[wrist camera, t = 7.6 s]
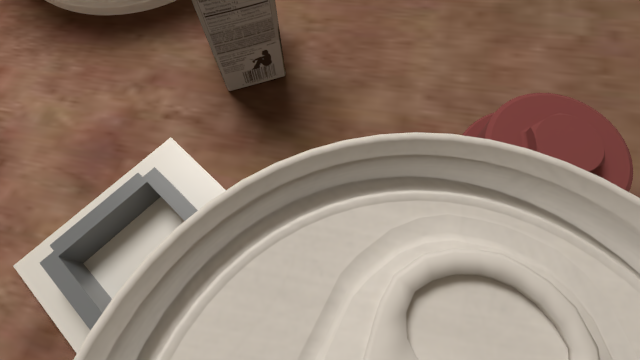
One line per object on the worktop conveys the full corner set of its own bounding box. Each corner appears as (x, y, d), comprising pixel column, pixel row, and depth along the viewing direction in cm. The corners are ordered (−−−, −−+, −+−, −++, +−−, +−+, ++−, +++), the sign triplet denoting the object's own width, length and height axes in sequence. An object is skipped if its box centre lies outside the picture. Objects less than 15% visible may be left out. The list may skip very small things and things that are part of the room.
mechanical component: (559, 195, 32) (514, 293, 29) (455, 140, 34) (403, 226, 31) (686, 120, 21) (635, 269, 18) (518, 45, 23) (447, 166, 20)
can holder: (174, 142, 35) (157, 120, 31) (295, 258, 30) (290, 248, 27) (22, 268, 30) (-20, 259, 27) (137, 423, 26) (106, 438, 22)
